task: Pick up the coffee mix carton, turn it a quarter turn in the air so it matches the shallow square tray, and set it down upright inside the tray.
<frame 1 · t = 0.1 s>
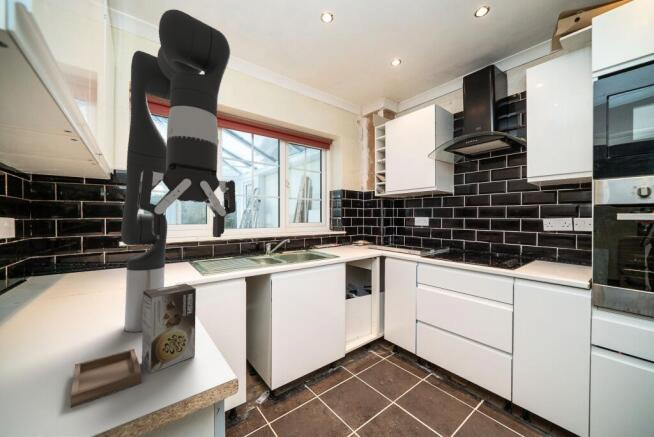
hand: (190, 237, 42), 29 cm above the table, fingers open, 8 cm apart
shallow square tray: (107, 378, 49), on the table
coffee box: (168, 360, 57), on the table
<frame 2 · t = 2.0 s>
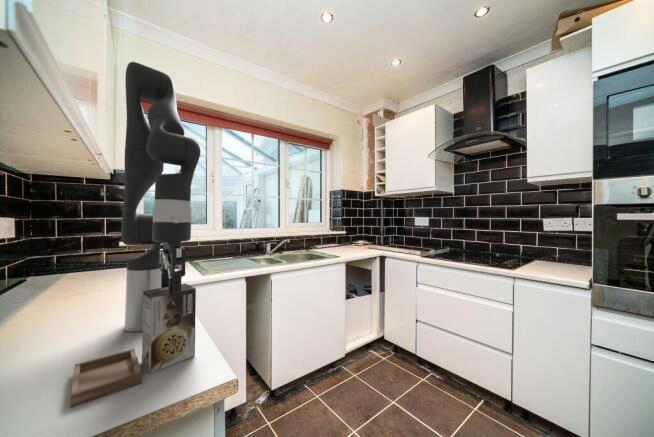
hand: (170, 291, 57), 16 cm above the table, fingers open, 8 cm apart
nothing on the table moved.
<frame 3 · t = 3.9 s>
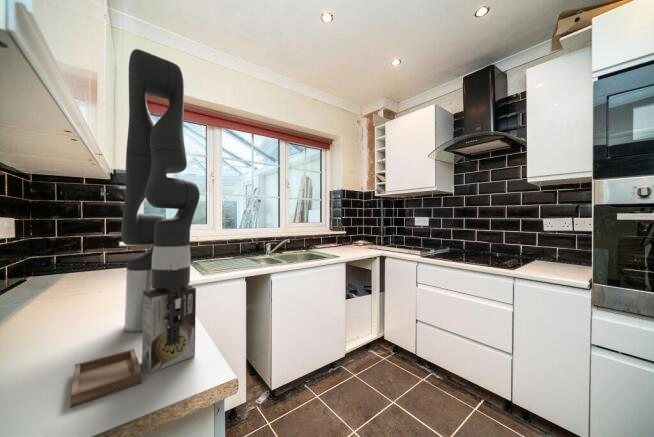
hand: (169, 337, 57), 5 cm above the table, fingers closed on coffee box, 7 cm apart
coffee box: (168, 360, 57), on the table, touching gripper
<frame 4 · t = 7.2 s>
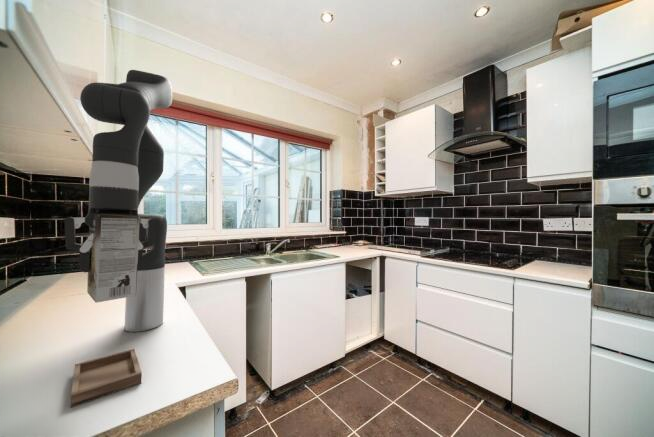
hand: (112, 269, 50), 22 cm above the table, fingers closed on coffee box, 7 cm apart
coffee box: (111, 295, 50), point 17 cm above the table, touching gripper
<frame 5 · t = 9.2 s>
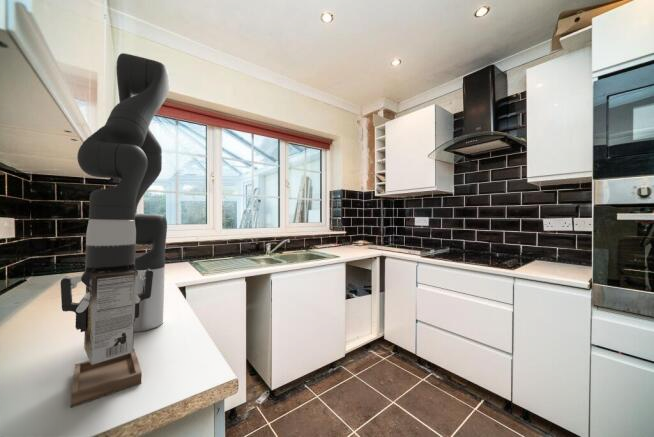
hand: (109, 325, 50), 11 cm above the table, fingers closed on coffee box, 7 cm apart
coffee box: (108, 351, 49), point 5 cm above the table, touching gripper
when the fingers open (7 cm above the table, at t = 11.0 s): coffee box drops 1 cm, resting on shallow square tray.
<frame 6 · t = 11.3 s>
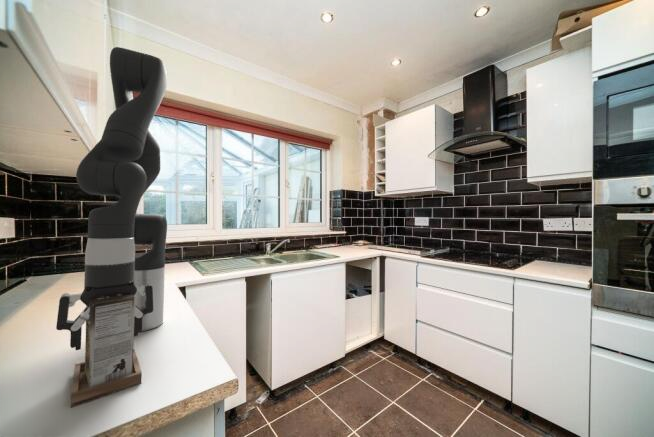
hand: (108, 341, 50), 7 cm above the table, fingers open, 8 cm apart
coffee box: (108, 376, 50), resting on shallow square tray
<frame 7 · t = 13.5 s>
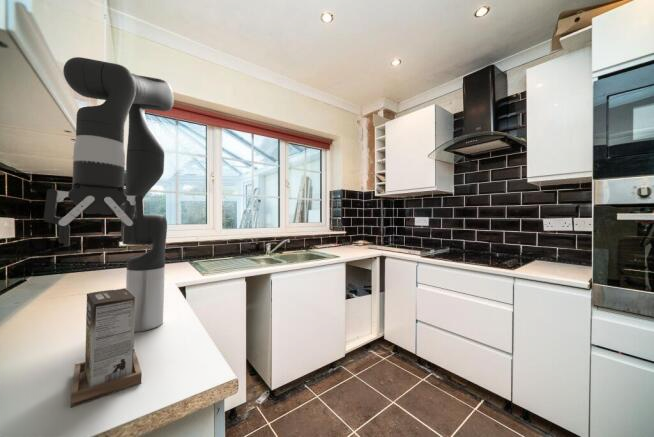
hand: (97, 244, 49), 27 cm above the table, fingers open, 8 cm apart
nothing on the table moved.
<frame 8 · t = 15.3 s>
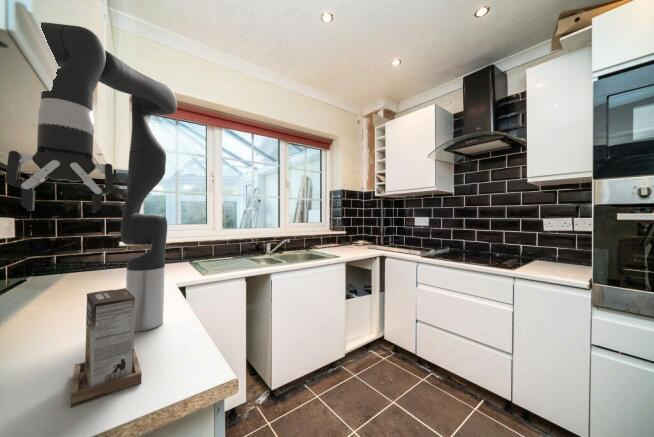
hand: (64, 211, 49), 33 cm above the table, fingers open, 8 cm apart
nothing on the table moved.
at the end: coffee box 0.1 cm off-centre on the shallow square tray, point 0.4 cm above the shallow square tray's base; coffee box tilted 0°; the gripper is holding nothing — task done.
